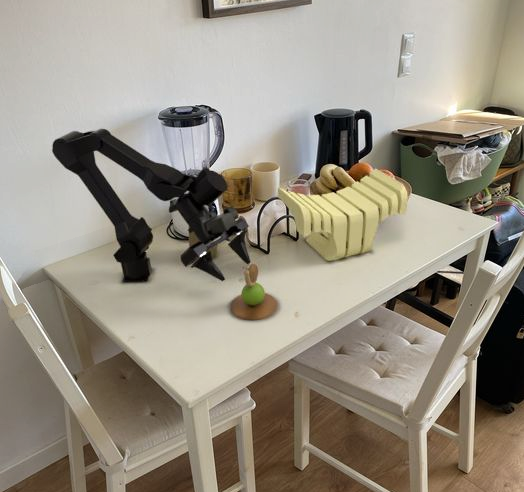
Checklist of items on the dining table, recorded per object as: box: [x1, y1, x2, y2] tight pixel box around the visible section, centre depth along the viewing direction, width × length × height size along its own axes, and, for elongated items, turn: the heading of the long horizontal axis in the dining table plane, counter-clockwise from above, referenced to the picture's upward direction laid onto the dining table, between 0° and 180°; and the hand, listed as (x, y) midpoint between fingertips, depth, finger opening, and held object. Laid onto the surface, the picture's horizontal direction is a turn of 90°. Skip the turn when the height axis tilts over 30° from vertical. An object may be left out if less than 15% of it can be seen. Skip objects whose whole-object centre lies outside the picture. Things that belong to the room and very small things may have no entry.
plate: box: [230, 292, 278, 321], centre depth 122 cm, size 11×11×1 cm
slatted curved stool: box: [277, 168, 409, 262], centre depth 140 cm, size 30×16×18 cm, turn 112°
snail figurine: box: [241, 263, 266, 305], centre depth 119 cm, size 5×6×12 cm
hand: (236, 271), depth 120 cm, fingers open, 9 cm apart
